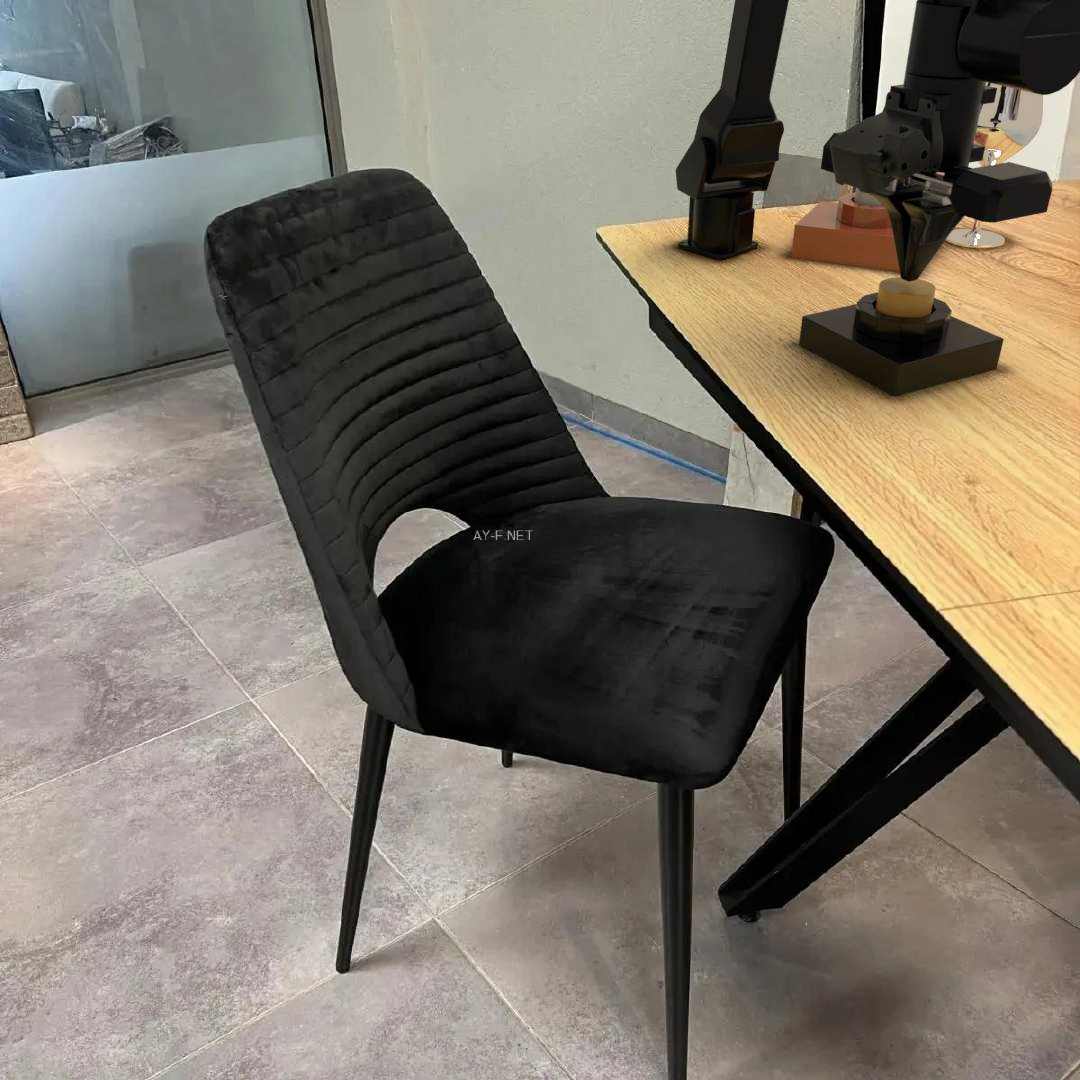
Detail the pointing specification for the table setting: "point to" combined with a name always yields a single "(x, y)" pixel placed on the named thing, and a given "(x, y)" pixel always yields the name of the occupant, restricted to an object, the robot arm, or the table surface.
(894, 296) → the yellow cylinder
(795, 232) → the button housing
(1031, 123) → the wineglass
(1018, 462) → the table surface
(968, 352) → the black push button base
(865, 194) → the white cylinder
